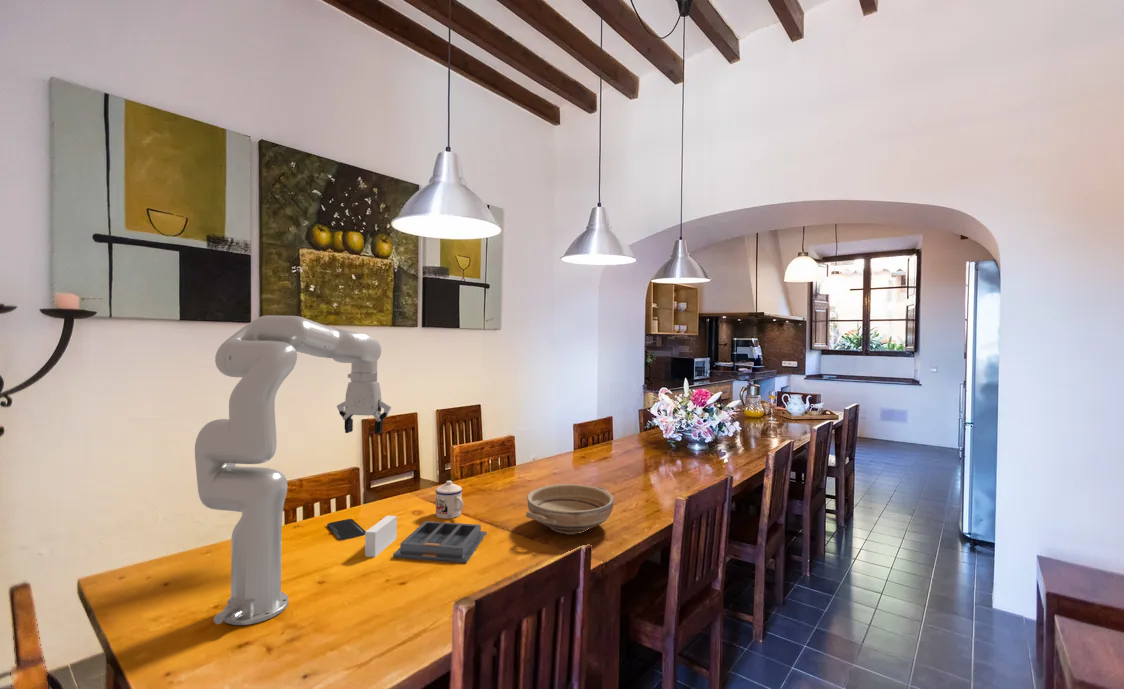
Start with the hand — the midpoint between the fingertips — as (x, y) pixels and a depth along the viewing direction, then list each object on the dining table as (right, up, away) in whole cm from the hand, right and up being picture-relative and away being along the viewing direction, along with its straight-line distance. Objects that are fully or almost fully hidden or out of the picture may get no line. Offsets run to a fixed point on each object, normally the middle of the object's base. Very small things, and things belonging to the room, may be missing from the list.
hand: (363, 432), depth 155 cm
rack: (+27, -32, -8) cm, 42 cm away
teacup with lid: (+24, -32, +16) cm, 43 cm away
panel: (+9, -32, -10) cm, 34 cm away
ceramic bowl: (+64, -33, +8) cm, 73 cm away
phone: (-6, -32, +2) cm, 32 cm away
